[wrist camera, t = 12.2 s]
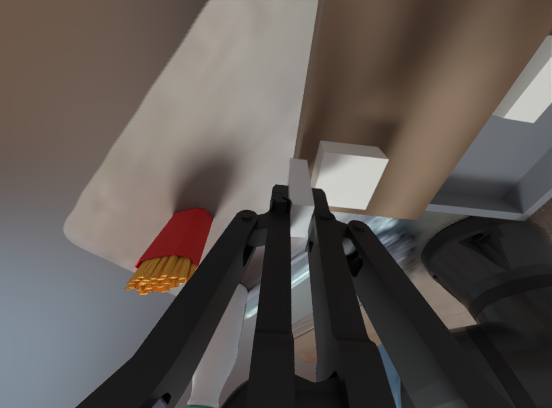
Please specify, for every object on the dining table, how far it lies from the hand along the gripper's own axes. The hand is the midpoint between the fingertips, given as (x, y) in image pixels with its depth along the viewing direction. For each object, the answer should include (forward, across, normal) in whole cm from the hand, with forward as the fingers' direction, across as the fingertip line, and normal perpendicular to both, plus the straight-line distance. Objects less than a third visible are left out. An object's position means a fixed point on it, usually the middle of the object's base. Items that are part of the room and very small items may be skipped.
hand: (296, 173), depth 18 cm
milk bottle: (+8, +9, +34) cm, 36 cm away
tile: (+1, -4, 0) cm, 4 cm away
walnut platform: (+7, -7, -4) cm, 11 cm away
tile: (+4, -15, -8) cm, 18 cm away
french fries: (+7, +14, +14) cm, 21 cm away
